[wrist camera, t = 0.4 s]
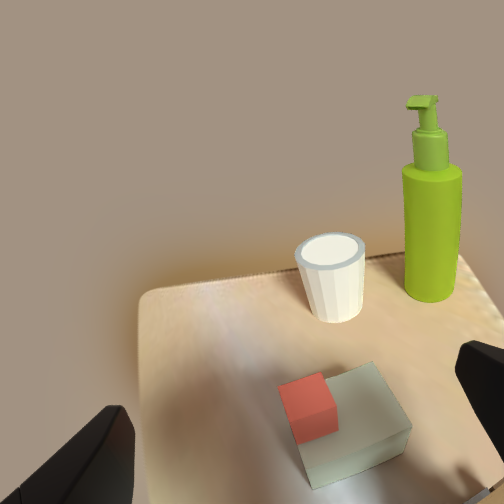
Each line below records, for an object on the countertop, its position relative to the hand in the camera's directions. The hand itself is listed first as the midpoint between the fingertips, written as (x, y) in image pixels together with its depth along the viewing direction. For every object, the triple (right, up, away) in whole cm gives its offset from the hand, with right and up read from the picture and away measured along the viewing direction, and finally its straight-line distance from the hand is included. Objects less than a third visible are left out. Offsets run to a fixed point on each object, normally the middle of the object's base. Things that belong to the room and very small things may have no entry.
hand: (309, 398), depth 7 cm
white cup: (+8, -2, +26) cm, 28 cm away
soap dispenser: (+18, -1, +24) cm, 30 cm away
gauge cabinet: (+5, -10, +13) cm, 17 cm away
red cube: (+2, -7, +11) cm, 13 cm away
